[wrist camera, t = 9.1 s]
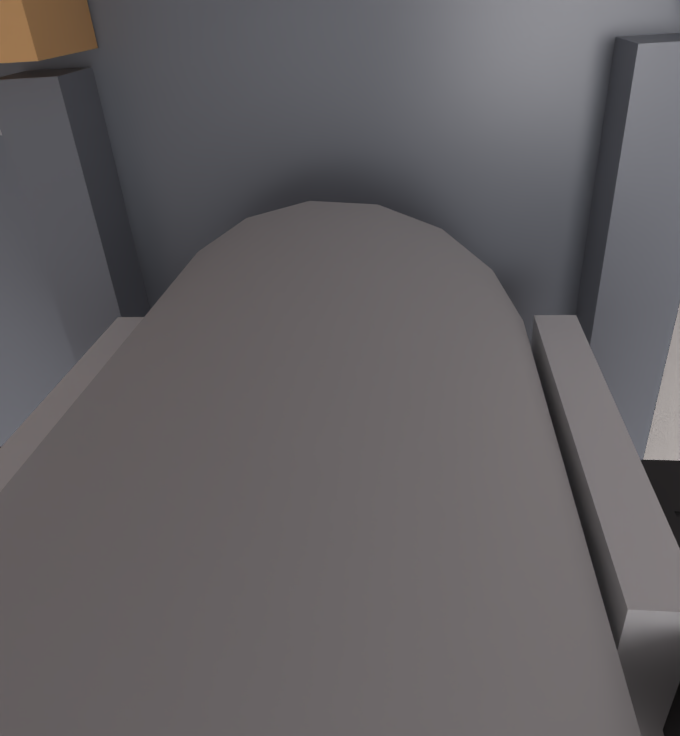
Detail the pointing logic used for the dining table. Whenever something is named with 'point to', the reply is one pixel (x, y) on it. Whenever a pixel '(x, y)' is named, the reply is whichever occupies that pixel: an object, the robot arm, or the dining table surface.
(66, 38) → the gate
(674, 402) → the dining table surface
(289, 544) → the can
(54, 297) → the housing
